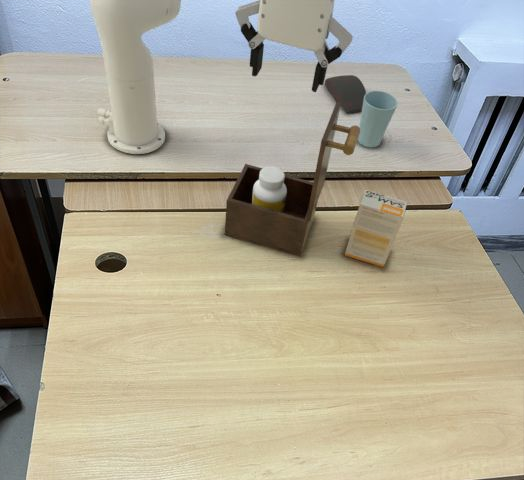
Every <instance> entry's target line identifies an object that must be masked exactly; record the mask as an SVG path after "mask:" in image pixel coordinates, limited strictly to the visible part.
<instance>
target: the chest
mask: <svg viewBox="0 0 524 480" xmlns="http://www.w3.org/2000/svg"><path fill="white" fill-rule="evenodd" d="M263 168H264V167H259V166H255V165H251V164H248V163H245V164H244V166H243V168H242V170H241V172H240V174H239V175H238V177H237V179H236V180H235V183H234V185H233V187H232V189H231V190H230V193H229V195H228V196H227V199H226V203H225V204H226V206H225V219H224V220H225V222H224V236H227V237H231V238H233V239H237V240H240V241H244V242H248V243H251V244H254V245H257V246H262V247H264V248H269V249H272V250H277V251H278V252H282V253H285V254H289V255H293V256H297V257H301V255H302V252H303V250H304V247H305V244H306V241H307V240H308V239H307V238H308V236H309V233H310V230H311V227H312V225H313V222H314V219H315V215H316V211H317V206H318V203H319V201H318V202H317V205H316V207H315V210H314V213H313V216H312V218H311V221H307V220H306V219H307V214H308V208H309V203H310V198H311V193H312V187H313V182H314V181H309V180H306V179H302V178H300V177H296V176H291V175H288V174H285V173H284V175H285V178H284V184H285V186H286V188H287V195H286V200H285V206H284V212H283V213H281V212H278V211H274V210H271V209H267V208H263V207H260V206H256V205H253V204H252V195H253V187H254V184H255V183H256V181H257V180H259V174H260V171H261V169H263Z"/></svg>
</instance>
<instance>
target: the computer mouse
mask: <svg viewBox="0 0 524 480" xmlns="http://www.w3.org/2000/svg"><path fill="white" fill-rule="evenodd" d="M324 86H325V88H326V90H327V91H328V93H329V94H330V95H331V97H332V98H333V99H334V100H335V101H336V102H339V103H341V106H340V108H342V110H343V111H344V112H345V113H346V114H352V113H357V112H362V107H363V101H364V96H365V94H366V93H367V91H366V88H365V85H364V84H363V82H362V80H361V79H360V78H359V77H358V76H356V75H353V74H345V75H344V74H343V75H337V76H336V75H335V76H332V77H328V78H325V80H324Z"/></svg>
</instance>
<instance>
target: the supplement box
mask: <svg viewBox="0 0 524 480" xmlns="http://www.w3.org/2000/svg"><path fill="white" fill-rule="evenodd" d="M407 206H408V201H406V200H403V199H399V198H395V197H393V196H389V195H386V194H382V193H380V192H375V191H373V190H370V189H365V190H364V193H363V195H362V198H361V200H360V202H359V206H358V209H357V212H356V215H355V218H354V222H353V225H352V229H351V233H350V236H349V238H348V242H347V244H346V249H345V253H344V256H345V257H349V258H352V259H355V260H359V261H362V262H364V263H367V264H372V265H374V266H378V267H381V268H384V267H385V265H386V263H387V260H388V258H389V255H390V253H391V251H392V247H393V245H394V244H395V240H396V237H397V235H398V232H399V231H400V228H401V225H402V223H403V220H404V218H405V214H406V209H407Z"/></svg>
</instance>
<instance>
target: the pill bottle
mask: <svg viewBox="0 0 524 480" xmlns="http://www.w3.org/2000/svg"><path fill="white" fill-rule="evenodd" d="M262 168H263V169H261V171H260V174H259V180H257V181H256V183H255V184H254V187H253V195H252V204H253V205H256V206H260V207H263V208H267V209H271V210H274V211H278V212H281V213H283V212H284V206H285V200H286V195H287V188H286V186H285V184H284V178H285V175H286V174H285V172H284V170H282V169H280V168H279V167H277V166H273V165H271V166H270V165H269V166H265V167H262ZM284 174H285V175H284Z"/></svg>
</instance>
